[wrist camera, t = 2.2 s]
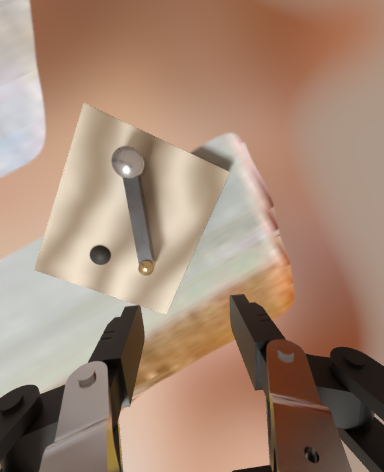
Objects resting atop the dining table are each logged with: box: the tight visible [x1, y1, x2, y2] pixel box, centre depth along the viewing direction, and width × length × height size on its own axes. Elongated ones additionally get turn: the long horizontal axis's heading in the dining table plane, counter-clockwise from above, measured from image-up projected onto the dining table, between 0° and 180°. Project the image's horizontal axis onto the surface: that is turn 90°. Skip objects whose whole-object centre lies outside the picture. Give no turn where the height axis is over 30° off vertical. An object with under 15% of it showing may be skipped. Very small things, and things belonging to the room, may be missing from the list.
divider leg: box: [111, 146, 156, 276], centre depth 24 cm, size 14×3×2 cm, turn 7°
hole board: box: [34, 103, 230, 314], centre depth 26 cm, size 18×21×2 cm
